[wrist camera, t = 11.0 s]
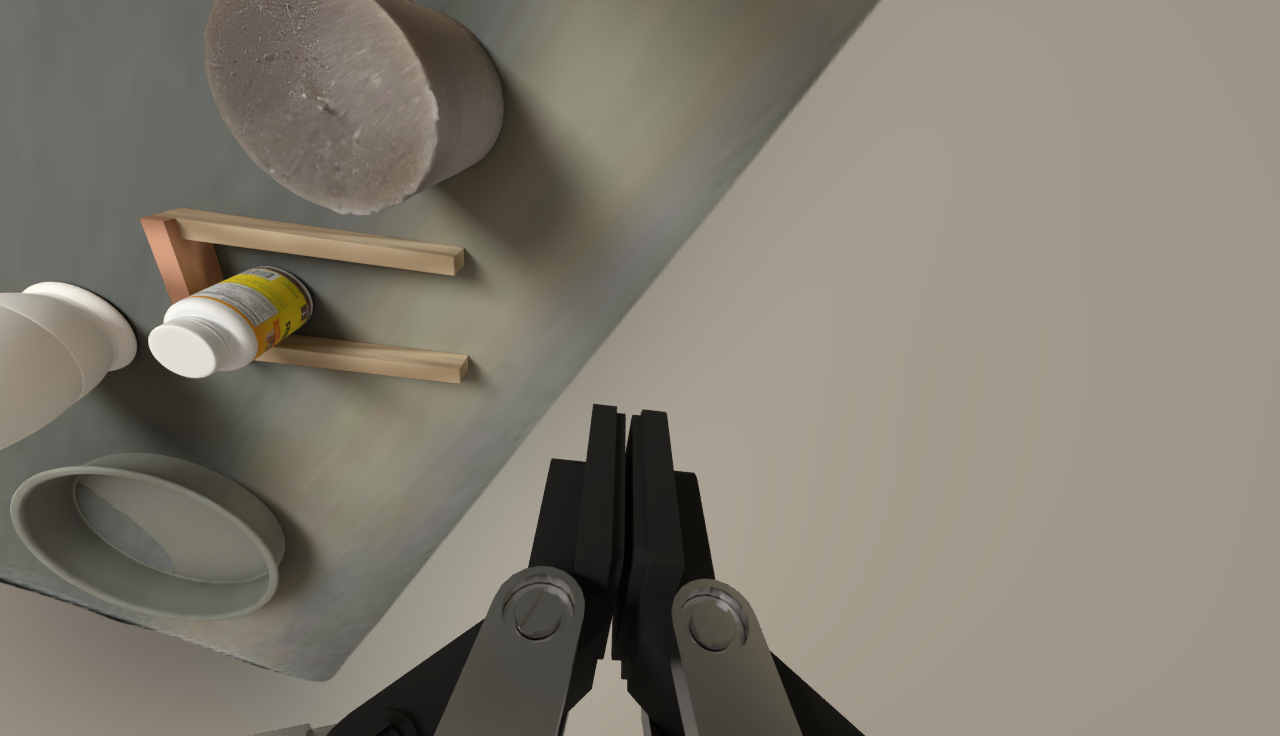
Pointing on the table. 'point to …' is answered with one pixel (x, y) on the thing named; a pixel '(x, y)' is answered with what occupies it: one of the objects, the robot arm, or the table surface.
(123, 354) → the jar
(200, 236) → the channel
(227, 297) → the supplement bottle
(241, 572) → the cake pan
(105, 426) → the table surface
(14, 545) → the table surface
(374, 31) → the pillar candle
